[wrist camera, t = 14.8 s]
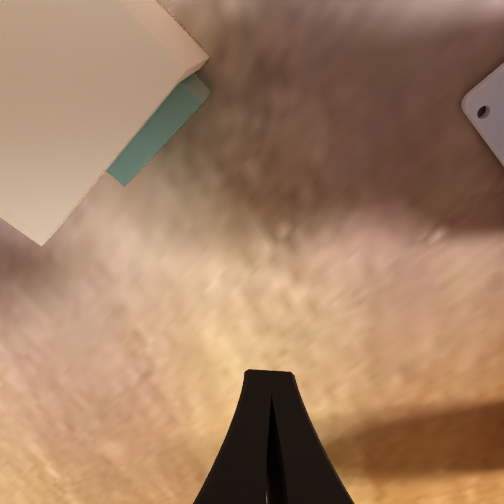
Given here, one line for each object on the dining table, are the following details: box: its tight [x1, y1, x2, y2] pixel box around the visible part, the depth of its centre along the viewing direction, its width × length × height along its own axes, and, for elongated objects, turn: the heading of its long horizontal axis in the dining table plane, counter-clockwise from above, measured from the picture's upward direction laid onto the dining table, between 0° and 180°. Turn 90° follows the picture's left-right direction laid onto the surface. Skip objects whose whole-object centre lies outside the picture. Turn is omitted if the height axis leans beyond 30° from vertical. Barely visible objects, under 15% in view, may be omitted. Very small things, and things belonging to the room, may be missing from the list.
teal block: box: [106, 73, 212, 186], centre depth 15 cm, size 8×4×4 cm, turn 43°
